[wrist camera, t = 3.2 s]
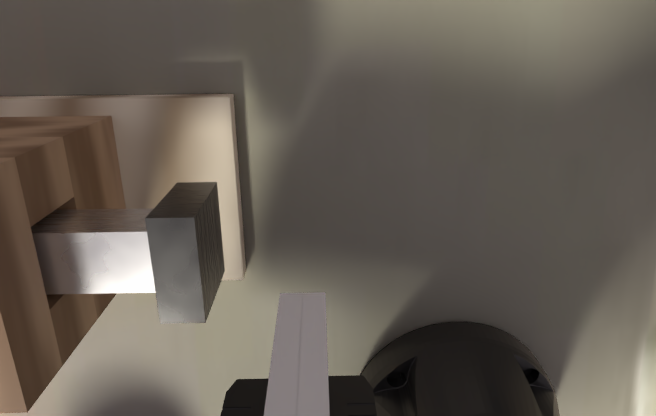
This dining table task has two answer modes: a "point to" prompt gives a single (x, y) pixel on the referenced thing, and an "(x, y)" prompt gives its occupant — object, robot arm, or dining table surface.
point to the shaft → (139, 251)
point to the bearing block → (95, 204)
